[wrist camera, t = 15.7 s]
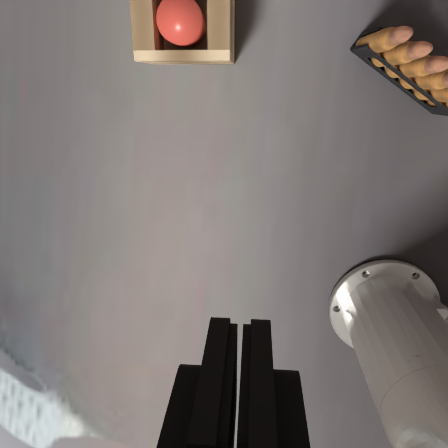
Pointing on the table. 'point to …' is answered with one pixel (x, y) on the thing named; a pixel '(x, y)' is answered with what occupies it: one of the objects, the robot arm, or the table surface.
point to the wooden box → (173, 54)
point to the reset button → (181, 22)
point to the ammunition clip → (407, 65)
